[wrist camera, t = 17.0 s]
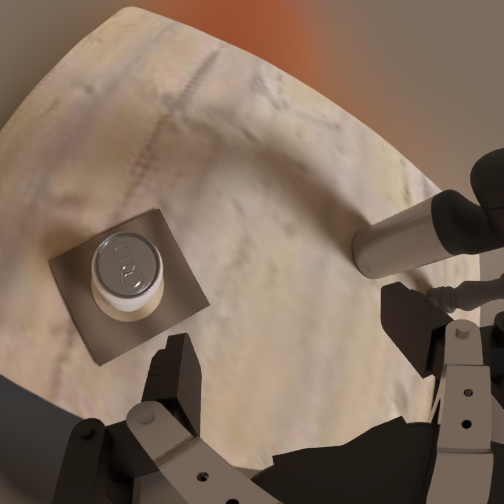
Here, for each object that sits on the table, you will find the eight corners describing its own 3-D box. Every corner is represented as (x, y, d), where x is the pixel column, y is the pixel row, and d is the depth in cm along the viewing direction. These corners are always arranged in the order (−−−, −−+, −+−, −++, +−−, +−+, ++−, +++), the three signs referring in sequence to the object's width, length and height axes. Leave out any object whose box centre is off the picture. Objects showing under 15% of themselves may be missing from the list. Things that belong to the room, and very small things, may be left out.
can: (111, 319, 32) (104, 315, 21) (93, 267, 32) (79, 239, 22) (161, 301, 35) (177, 288, 24) (142, 250, 35) (151, 216, 25)
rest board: (158, 211, 39) (159, 207, 38) (208, 305, 38) (211, 304, 37) (50, 262, 32) (48, 260, 30) (100, 365, 31) (98, 366, 30)
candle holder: (422, 298, 56) (527, 272, 33) (433, 284, 58) (530, 257, 36) (431, 322, 55) (534, 303, 33) (442, 307, 58) (537, 286, 36)
